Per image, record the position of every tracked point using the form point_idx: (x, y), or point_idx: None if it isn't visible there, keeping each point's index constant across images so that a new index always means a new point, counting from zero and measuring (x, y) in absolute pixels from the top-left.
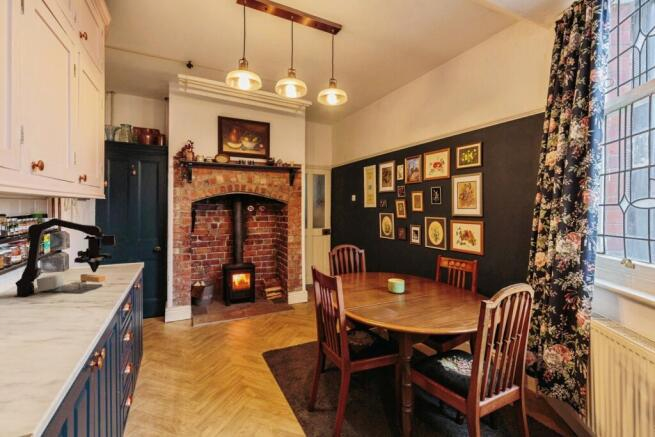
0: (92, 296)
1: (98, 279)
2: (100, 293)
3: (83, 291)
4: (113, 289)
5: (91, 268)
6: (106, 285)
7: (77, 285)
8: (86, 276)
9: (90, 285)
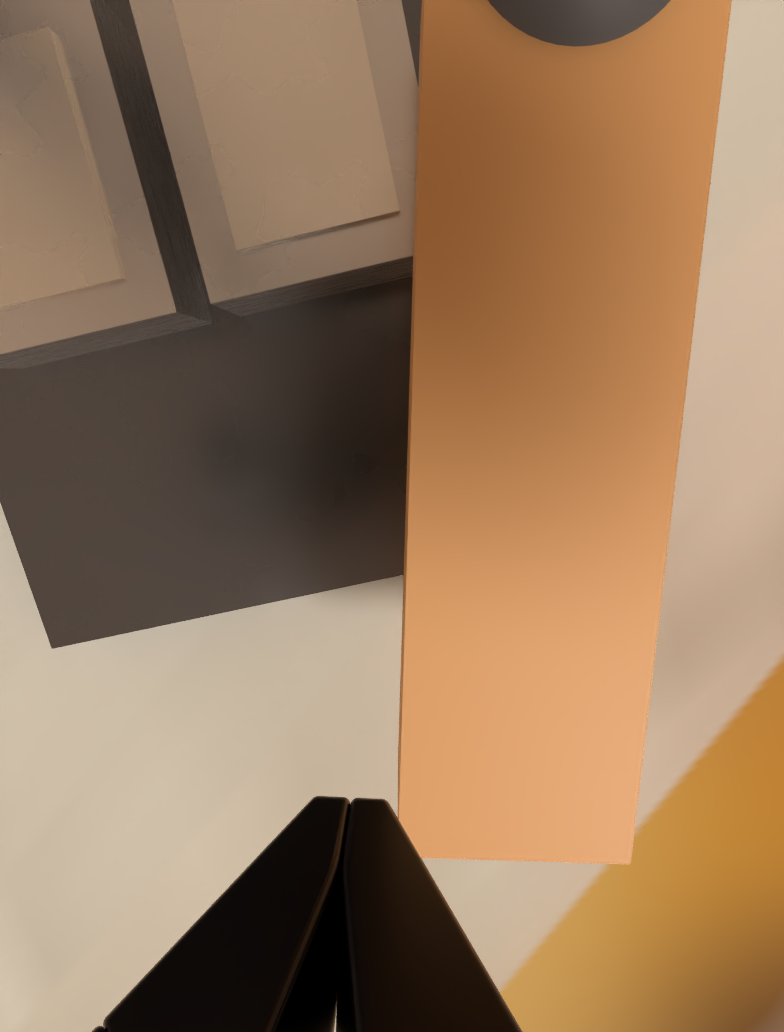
0: (26, 939)
1: (398, 798)
2: (207, 908)
3: (94, 636)
4: (492, 897)
5: (177, 984)
6: (728, 525)
7: (144, 325)
8: (417, 279)
9: None
